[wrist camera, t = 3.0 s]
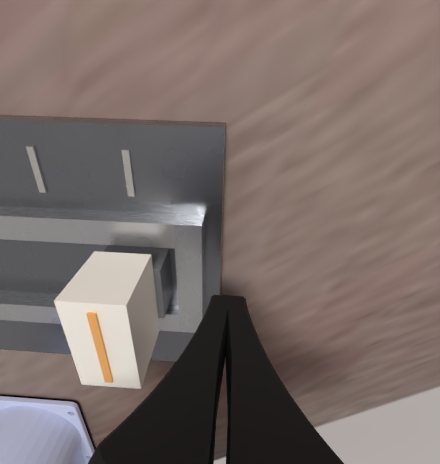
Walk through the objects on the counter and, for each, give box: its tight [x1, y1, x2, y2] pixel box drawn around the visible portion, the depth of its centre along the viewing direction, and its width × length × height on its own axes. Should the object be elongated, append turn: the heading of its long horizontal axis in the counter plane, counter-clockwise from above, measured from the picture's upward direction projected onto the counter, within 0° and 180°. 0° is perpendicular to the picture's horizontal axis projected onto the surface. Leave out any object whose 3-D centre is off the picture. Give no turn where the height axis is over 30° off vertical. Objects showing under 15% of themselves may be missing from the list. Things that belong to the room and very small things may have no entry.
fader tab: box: [54, 245, 172, 389], centre depth 12 cm, size 4×3×5 cm
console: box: [0, 115, 226, 362], centre depth 15 cm, size 14×22×2 cm, turn 89°
